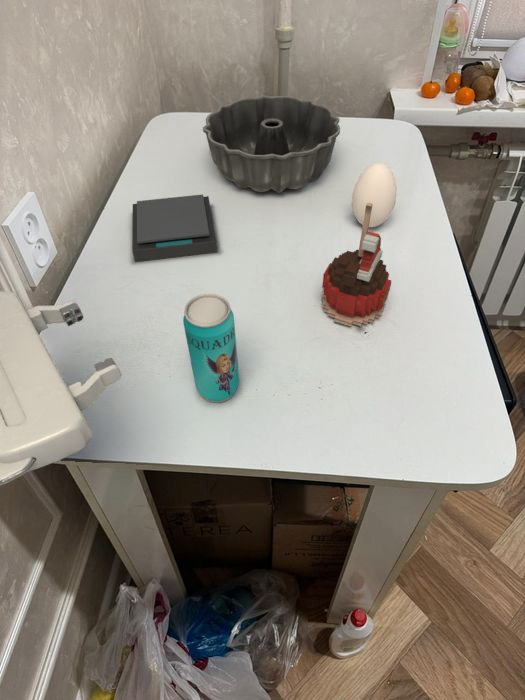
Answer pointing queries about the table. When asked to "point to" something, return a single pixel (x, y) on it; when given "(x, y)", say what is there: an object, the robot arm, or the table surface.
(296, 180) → the bundt pan
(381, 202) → the egg
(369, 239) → the cake
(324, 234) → the table surface
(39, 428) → the robot arm
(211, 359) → the beverage can
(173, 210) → the kitchen scale
